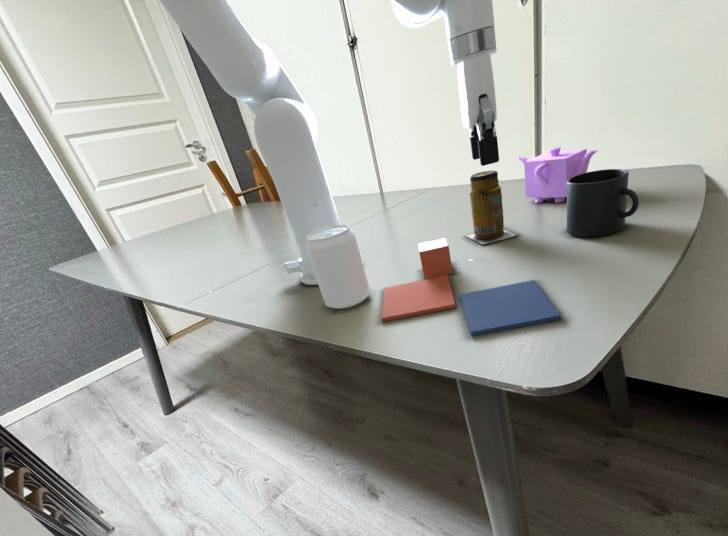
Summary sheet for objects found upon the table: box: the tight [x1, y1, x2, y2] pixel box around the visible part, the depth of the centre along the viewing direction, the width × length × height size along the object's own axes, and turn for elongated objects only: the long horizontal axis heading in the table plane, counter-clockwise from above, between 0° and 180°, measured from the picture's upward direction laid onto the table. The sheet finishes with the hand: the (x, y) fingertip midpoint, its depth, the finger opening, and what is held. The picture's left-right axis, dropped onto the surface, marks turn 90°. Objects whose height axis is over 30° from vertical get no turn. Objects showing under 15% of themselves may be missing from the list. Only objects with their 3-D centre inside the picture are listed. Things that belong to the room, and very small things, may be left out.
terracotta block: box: [418, 237, 454, 280], centre depth 71 cm, size 5×5×5 cm
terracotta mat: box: [381, 275, 457, 322], centre depth 64 cm, size 11×12×1 cm
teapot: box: [516, 146, 600, 204], centre depth 94 cm, size 15×13×11 cm
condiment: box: [466, 170, 516, 245], centre depth 80 cm, size 7×8×12 cm
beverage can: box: [306, 224, 371, 310], centre depth 67 cm, size 8×8×12 cm
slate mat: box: [459, 279, 562, 337], centre depth 55 cm, size 11×12×1 cm
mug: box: [566, 168, 640, 238], centre depth 70 cm, size 9×12×9 cm
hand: (485, 160), depth 75 cm, fingers open, 9 cm apart
